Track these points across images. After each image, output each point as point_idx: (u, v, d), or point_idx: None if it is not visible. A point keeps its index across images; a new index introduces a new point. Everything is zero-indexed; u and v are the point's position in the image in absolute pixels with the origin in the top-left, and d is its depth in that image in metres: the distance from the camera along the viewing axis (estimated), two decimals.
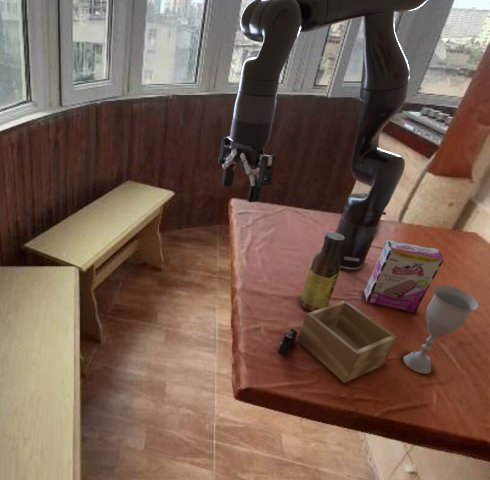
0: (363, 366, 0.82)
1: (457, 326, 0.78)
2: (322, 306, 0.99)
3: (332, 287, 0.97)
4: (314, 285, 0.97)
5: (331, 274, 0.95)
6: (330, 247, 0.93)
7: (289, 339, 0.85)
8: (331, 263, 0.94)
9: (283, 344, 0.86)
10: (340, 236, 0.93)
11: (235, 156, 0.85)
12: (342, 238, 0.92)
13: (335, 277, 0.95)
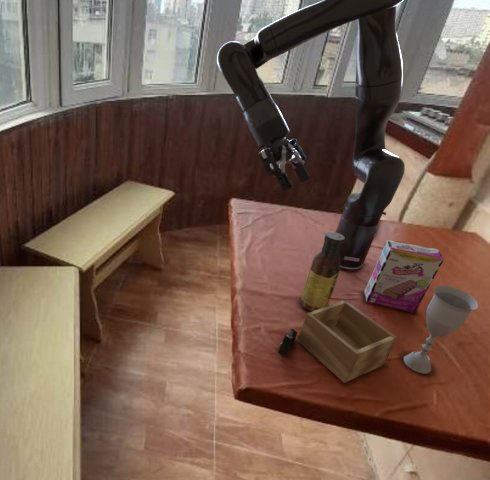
0: (363, 366, 0.82)
1: (457, 326, 0.78)
2: (322, 306, 0.99)
3: (332, 287, 0.97)
4: (314, 285, 0.97)
5: (331, 274, 0.95)
6: (330, 247, 0.93)
7: (289, 339, 0.85)
8: (331, 263, 0.94)
9: (283, 344, 0.86)
10: (340, 236, 0.93)
11: None
12: (342, 238, 0.92)
13: (335, 277, 0.95)
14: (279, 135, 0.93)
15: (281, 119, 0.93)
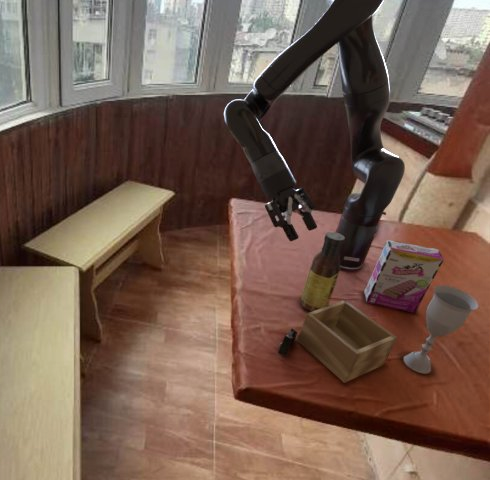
0: (363, 366, 0.82)
1: (457, 326, 0.78)
2: (322, 306, 0.99)
3: (332, 287, 0.97)
4: (314, 285, 0.97)
5: (331, 274, 0.95)
6: (330, 247, 0.93)
7: (289, 339, 0.85)
8: (331, 263, 0.94)
9: (283, 344, 0.86)
10: (340, 236, 0.93)
11: None
12: (342, 238, 0.92)
13: (335, 277, 0.95)
14: (285, 188, 0.96)
15: (287, 172, 0.97)
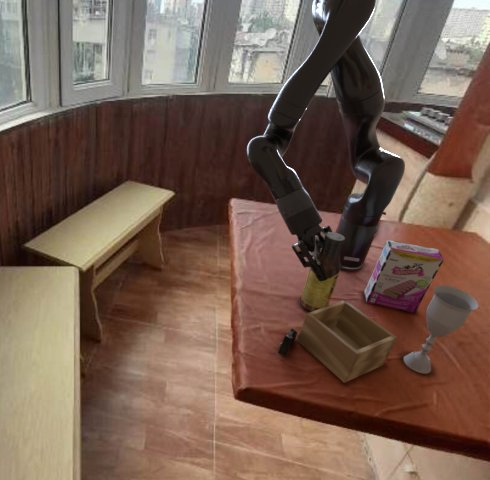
0: (363, 366, 0.82)
1: (457, 326, 0.78)
2: (322, 306, 0.99)
3: (332, 287, 0.97)
4: (314, 285, 0.97)
5: (331, 275, 0.95)
6: (330, 248, 0.93)
7: (289, 339, 0.85)
8: (331, 264, 0.94)
9: (283, 344, 0.86)
10: (340, 236, 0.93)
11: None
12: (342, 238, 0.92)
13: (335, 277, 0.95)
14: (311, 226, 0.94)
15: (313, 210, 0.95)
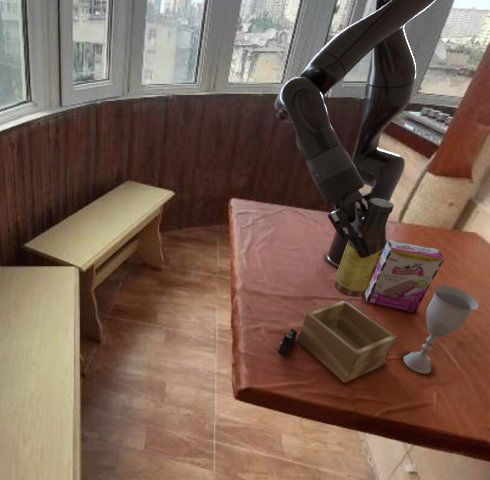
0: (363, 366, 0.82)
1: (457, 326, 0.78)
2: (362, 289, 0.82)
3: (375, 266, 0.80)
4: (353, 263, 0.80)
5: (375, 250, 0.78)
6: (375, 217, 0.76)
7: (289, 339, 0.85)
8: (375, 236, 0.77)
9: (283, 344, 0.86)
10: (388, 203, 0.76)
11: None
12: (390, 205, 0.75)
13: (379, 253, 0.79)
14: (352, 191, 0.77)
15: (354, 171, 0.78)
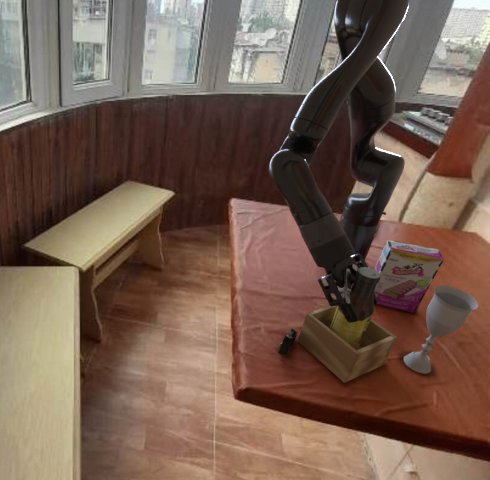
0: (363, 366, 0.82)
1: (457, 326, 0.78)
2: None
3: (364, 331, 0.83)
4: (343, 328, 0.83)
5: (363, 317, 0.81)
6: (363, 286, 0.79)
7: (289, 339, 0.85)
8: (364, 304, 0.80)
9: (283, 344, 0.86)
10: (375, 273, 0.79)
11: None
12: (377, 276, 0.78)
13: (368, 320, 0.81)
14: (343, 259, 0.80)
15: (345, 239, 0.81)
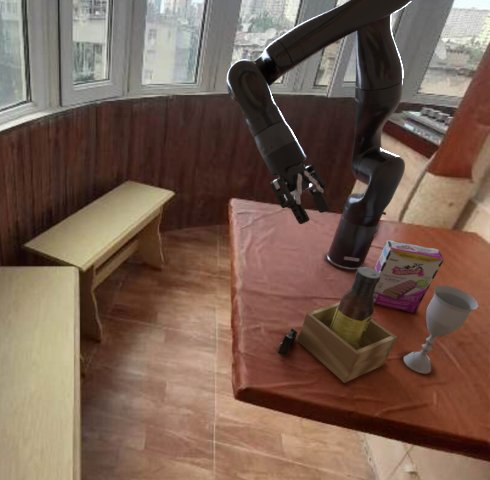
0: (363, 366, 0.82)
1: (457, 326, 0.78)
2: None
3: (364, 331, 0.83)
4: (343, 328, 0.83)
5: (363, 317, 0.81)
6: (362, 286, 0.79)
7: (289, 339, 0.85)
8: (363, 304, 0.80)
9: (283, 344, 0.86)
10: (375, 273, 0.79)
11: None
12: (377, 275, 0.78)
13: (368, 320, 0.81)
14: (294, 163, 0.84)
15: (296, 145, 0.85)
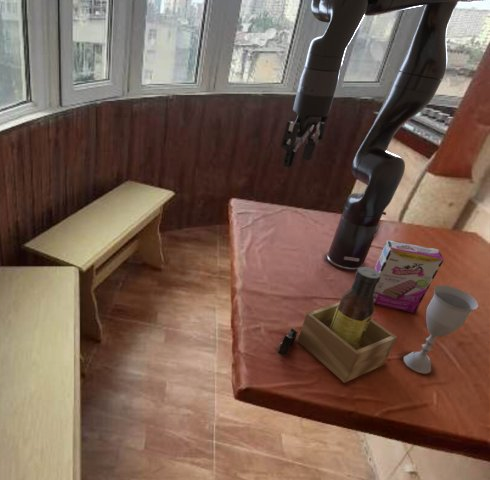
0: (363, 366, 0.82)
1: (457, 326, 0.78)
2: None
3: (364, 331, 0.83)
4: (343, 328, 0.83)
5: (363, 317, 0.81)
6: (362, 286, 0.79)
7: (289, 339, 0.85)
8: (363, 304, 0.80)
9: (283, 344, 0.86)
10: (375, 273, 0.79)
11: None
12: (377, 275, 0.78)
13: (368, 320, 0.81)
14: (317, 116, 0.88)
15: (330, 100, 0.87)
